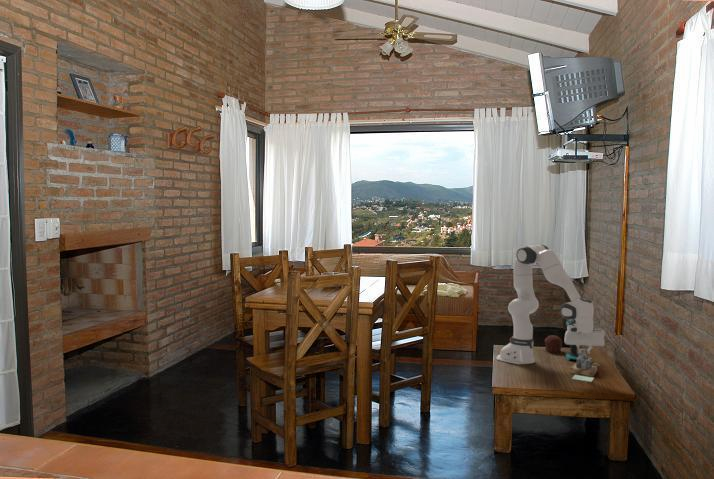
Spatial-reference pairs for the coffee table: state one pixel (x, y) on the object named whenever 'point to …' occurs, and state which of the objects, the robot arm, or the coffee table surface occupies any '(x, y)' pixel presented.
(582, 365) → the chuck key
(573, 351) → the power drill
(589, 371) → the block
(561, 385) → the coffee table surface
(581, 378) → the mat
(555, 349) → the muffin
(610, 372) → the coffee table surface
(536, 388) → the coffee table surface
